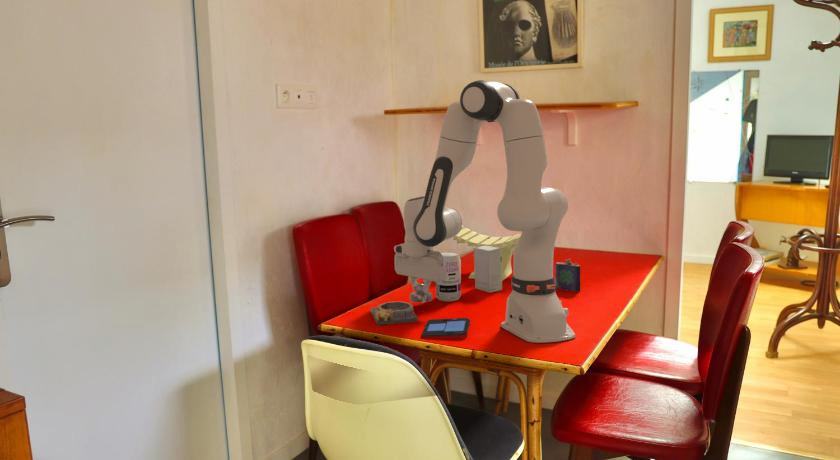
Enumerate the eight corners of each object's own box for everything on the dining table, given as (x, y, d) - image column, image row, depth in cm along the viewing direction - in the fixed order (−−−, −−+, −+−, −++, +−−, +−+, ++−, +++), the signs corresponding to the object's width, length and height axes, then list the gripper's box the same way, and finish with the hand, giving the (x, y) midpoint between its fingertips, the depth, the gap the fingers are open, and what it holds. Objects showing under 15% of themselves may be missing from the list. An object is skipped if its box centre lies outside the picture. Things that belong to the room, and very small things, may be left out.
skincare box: (502, 290, 224) (502, 248, 221) (488, 293, 220) (488, 250, 218) (486, 285, 230) (486, 244, 228) (473, 288, 227) (473, 246, 225)
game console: (427, 323, 192) (427, 316, 191) (471, 324, 190) (471, 317, 189) (420, 340, 178) (419, 332, 177) (466, 341, 176) (466, 333, 175)
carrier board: (418, 321, 192) (418, 311, 191) (377, 325, 189) (377, 314, 189) (408, 308, 205) (408, 298, 205) (370, 311, 203) (369, 301, 202)
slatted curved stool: (535, 272, 247) (536, 226, 244) (525, 282, 233) (525, 233, 230) (460, 267, 259) (460, 222, 256) (446, 276, 245) (446, 229, 242)
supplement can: (447, 293, 221) (447, 250, 218) (465, 298, 215) (465, 253, 213) (430, 298, 215) (430, 254, 213) (449, 303, 210) (448, 257, 207)
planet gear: (434, 301, 203) (434, 285, 203) (412, 303, 202) (412, 288, 201) (429, 296, 210) (428, 281, 209) (407, 298, 209) (407, 283, 208)
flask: (553, 288, 225) (554, 257, 223) (557, 286, 227) (558, 256, 225) (578, 292, 219) (579, 261, 217) (582, 290, 221) (583, 259, 220)
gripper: (450, 250, 198) (451, 294, 200) (405, 243, 213) (406, 284, 215) (435, 253, 194) (436, 299, 196) (390, 246, 209) (392, 288, 211)
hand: (420, 291), depth 206 cm, fingers closed on planet gear, 3 cm apart
